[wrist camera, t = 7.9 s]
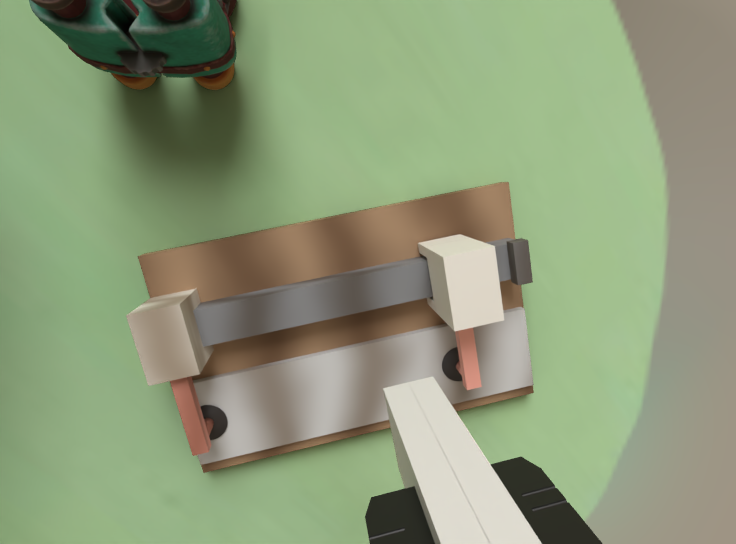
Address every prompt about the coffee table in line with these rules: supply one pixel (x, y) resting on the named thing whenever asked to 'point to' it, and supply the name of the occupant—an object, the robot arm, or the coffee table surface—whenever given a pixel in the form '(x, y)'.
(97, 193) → the coffee table surface
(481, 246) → the slider head
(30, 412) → the coffee table surface
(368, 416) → the gauge
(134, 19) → the binoculars
